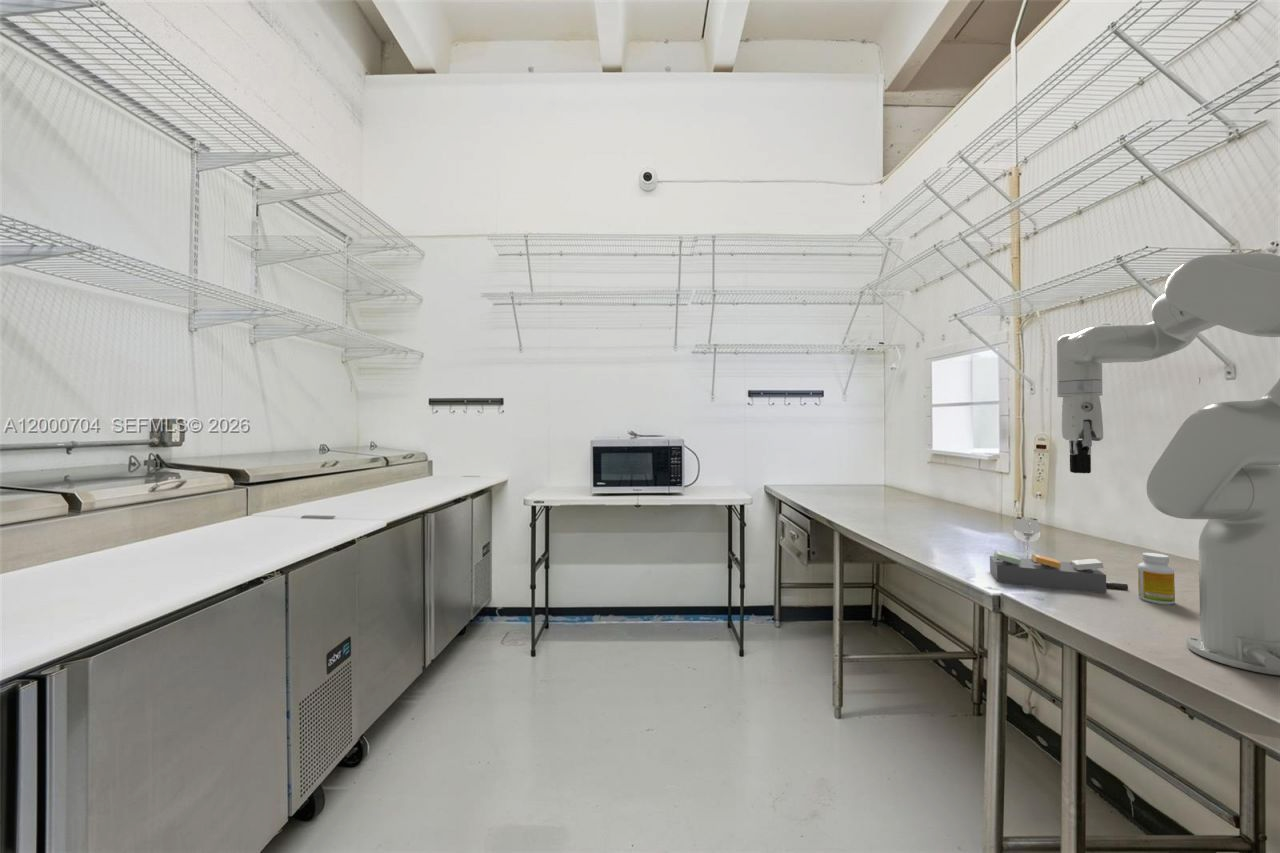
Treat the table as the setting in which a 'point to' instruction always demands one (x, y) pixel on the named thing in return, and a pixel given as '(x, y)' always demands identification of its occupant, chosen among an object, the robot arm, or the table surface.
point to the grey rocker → (1087, 564)
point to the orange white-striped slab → (1046, 561)
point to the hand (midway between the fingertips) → (1080, 472)
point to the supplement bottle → (1156, 579)
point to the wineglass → (1027, 531)
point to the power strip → (1051, 575)
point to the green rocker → (1007, 557)
